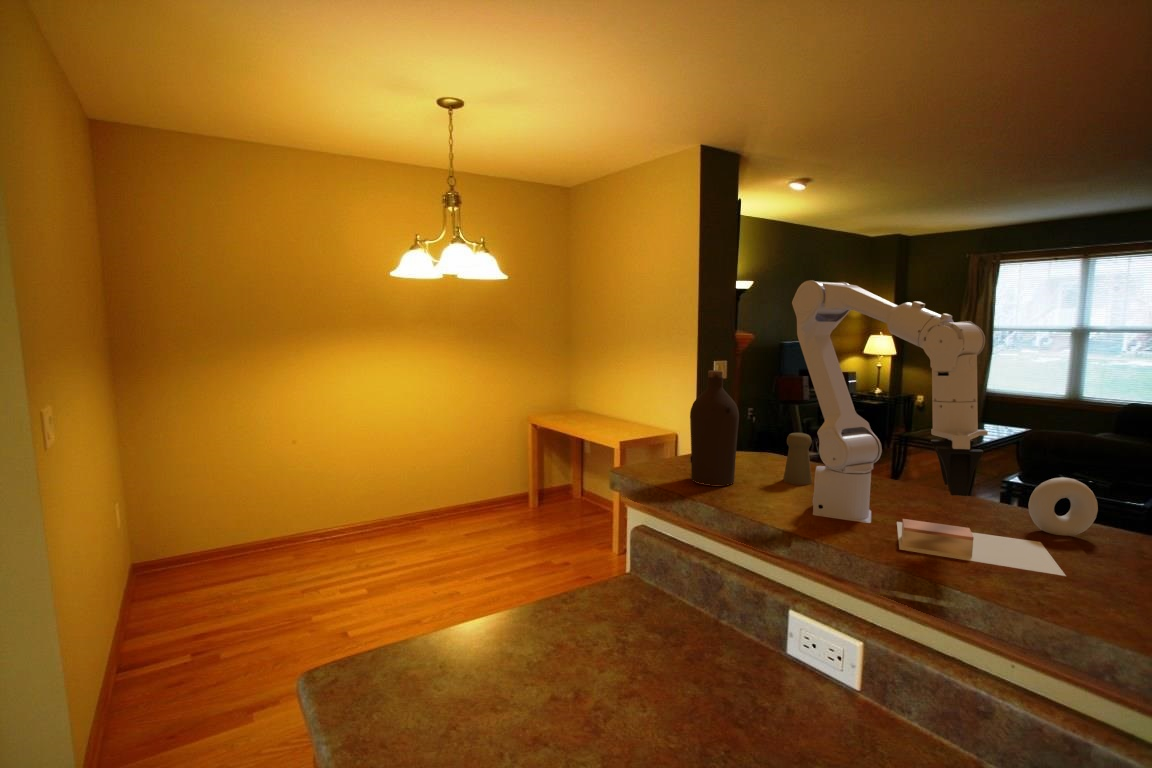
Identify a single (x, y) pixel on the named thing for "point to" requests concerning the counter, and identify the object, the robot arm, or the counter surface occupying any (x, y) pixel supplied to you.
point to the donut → (1078, 514)
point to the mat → (1001, 553)
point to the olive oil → (714, 434)
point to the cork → (798, 459)
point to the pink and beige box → (937, 537)
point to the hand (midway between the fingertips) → (955, 489)
